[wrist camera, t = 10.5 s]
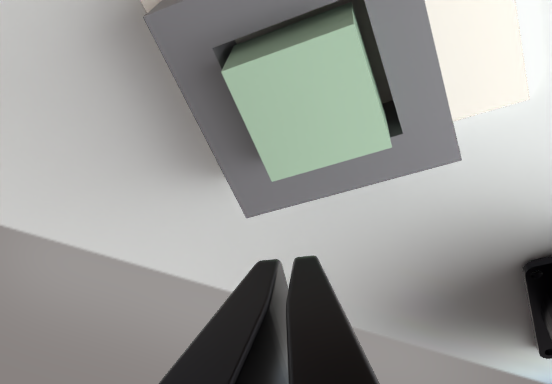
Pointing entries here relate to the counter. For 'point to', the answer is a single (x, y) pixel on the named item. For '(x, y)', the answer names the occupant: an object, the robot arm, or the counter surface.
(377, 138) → the button
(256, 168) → the picture board
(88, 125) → the counter surface
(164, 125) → the counter surface
